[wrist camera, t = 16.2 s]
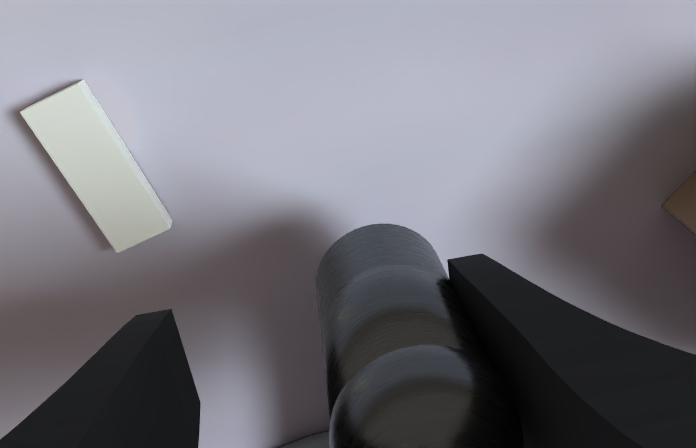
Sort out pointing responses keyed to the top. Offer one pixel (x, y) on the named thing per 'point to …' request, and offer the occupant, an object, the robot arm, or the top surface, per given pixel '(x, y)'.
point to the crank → (404, 350)
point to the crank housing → (106, 176)
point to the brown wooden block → (684, 203)
